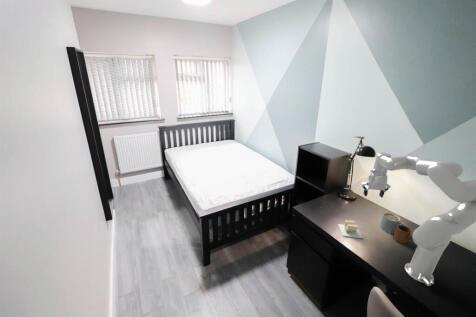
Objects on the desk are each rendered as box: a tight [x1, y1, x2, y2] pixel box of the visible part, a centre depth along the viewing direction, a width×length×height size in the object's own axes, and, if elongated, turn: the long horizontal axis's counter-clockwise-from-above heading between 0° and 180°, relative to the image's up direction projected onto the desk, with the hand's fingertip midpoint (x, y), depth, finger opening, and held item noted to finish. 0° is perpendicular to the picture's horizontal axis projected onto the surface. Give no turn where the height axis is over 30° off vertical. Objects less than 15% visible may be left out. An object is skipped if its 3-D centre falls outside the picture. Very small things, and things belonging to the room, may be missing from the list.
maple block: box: [343, 219, 358, 234], centre depth 149 cm, size 6×6×6 cm
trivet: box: [337, 223, 363, 239], centre depth 151 cm, size 12×12×1 cm
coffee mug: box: [379, 212, 406, 234], centre depth 152 cm, size 13×10×10 cm
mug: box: [393, 224, 415, 244], centre depth 140 cm, size 12×8×9 cm, turn 18°
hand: (372, 195), depth 143 cm, fingers open, 9 cm apart
